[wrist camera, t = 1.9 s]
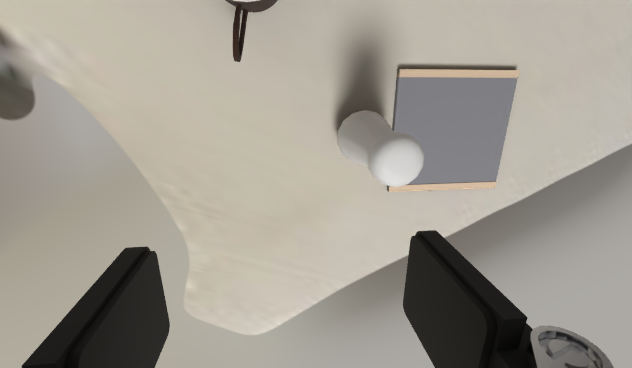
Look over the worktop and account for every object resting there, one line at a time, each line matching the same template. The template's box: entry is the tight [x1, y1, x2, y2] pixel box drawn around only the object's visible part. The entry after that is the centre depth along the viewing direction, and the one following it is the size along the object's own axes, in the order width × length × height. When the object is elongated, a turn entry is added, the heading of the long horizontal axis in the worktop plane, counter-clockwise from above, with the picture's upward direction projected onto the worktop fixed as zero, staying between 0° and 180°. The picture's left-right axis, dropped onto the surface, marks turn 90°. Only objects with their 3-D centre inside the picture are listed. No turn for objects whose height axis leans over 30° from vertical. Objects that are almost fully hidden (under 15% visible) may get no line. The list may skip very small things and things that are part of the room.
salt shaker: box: [338, 110, 424, 187], centre depth 29 cm, size 6×6×13 cm
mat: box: [387, 69, 520, 192], centre depth 36 cm, size 14×14×1 cm
